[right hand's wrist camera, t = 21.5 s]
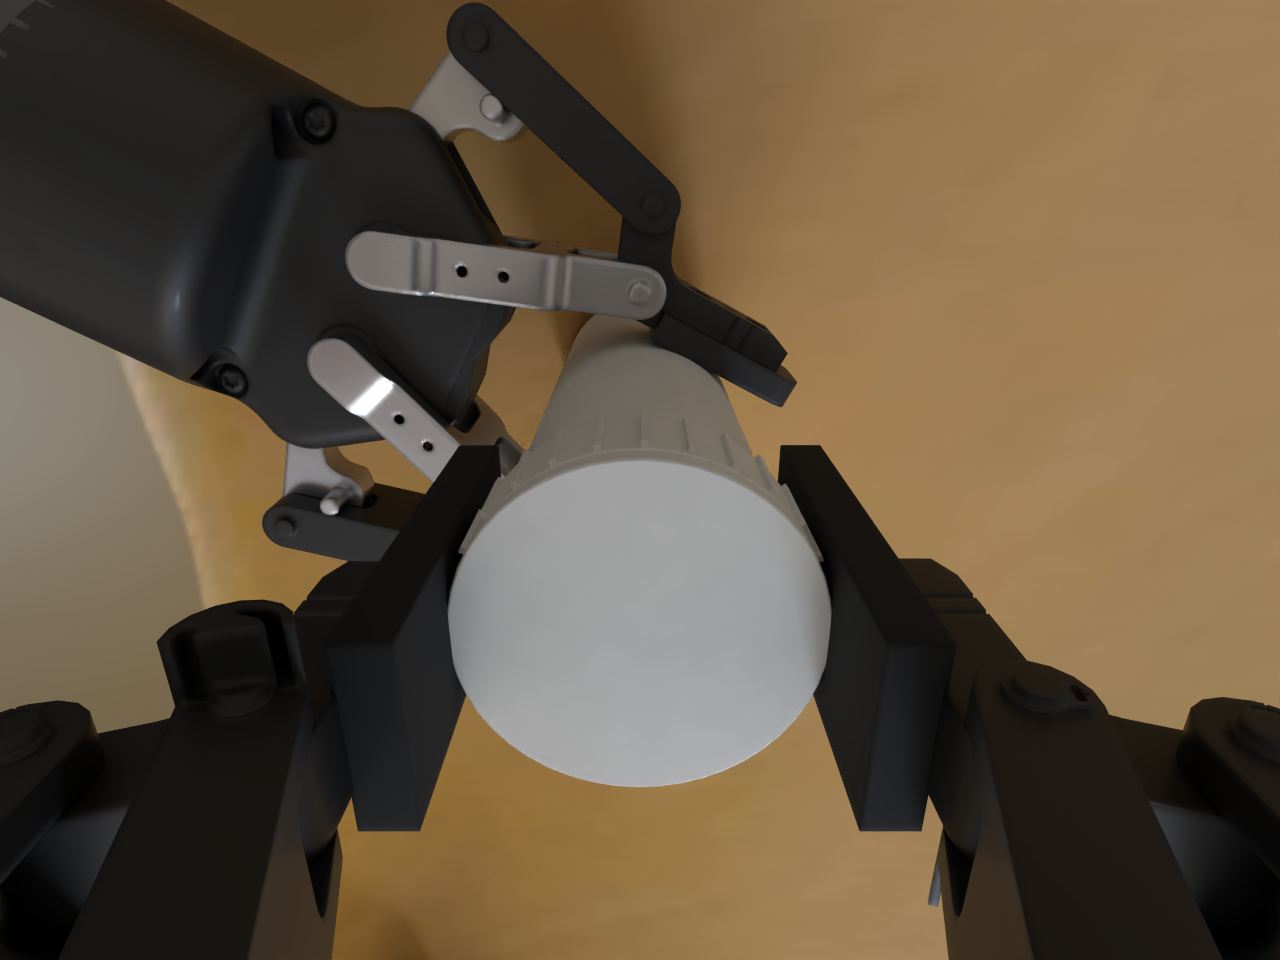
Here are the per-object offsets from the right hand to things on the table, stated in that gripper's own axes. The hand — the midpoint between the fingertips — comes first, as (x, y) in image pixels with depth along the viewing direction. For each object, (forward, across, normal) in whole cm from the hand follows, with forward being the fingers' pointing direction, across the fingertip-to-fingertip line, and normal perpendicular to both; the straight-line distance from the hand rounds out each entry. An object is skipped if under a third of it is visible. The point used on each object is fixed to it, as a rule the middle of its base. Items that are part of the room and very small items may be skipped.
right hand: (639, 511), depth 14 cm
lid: (-4, 0, 0) cm, 4 cm away
